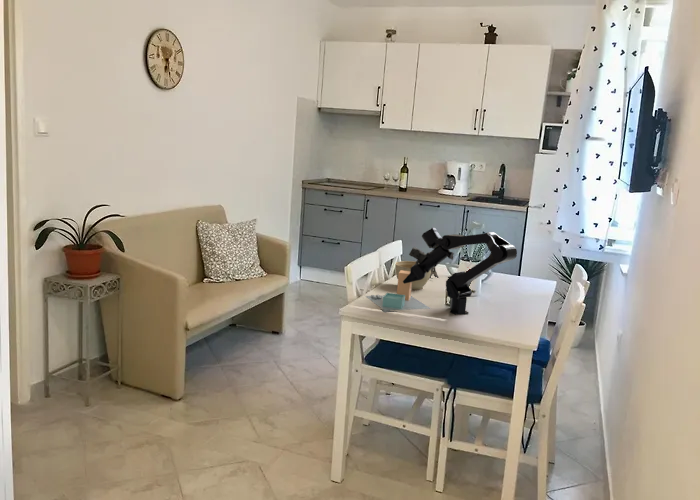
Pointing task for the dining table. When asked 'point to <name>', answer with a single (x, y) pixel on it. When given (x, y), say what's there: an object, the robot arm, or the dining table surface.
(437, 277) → the eiffel tower figurine
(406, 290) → the terracotta brick
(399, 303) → the baseplate
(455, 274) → the robot arm
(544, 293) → the dining table surface
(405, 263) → the planter bowl
